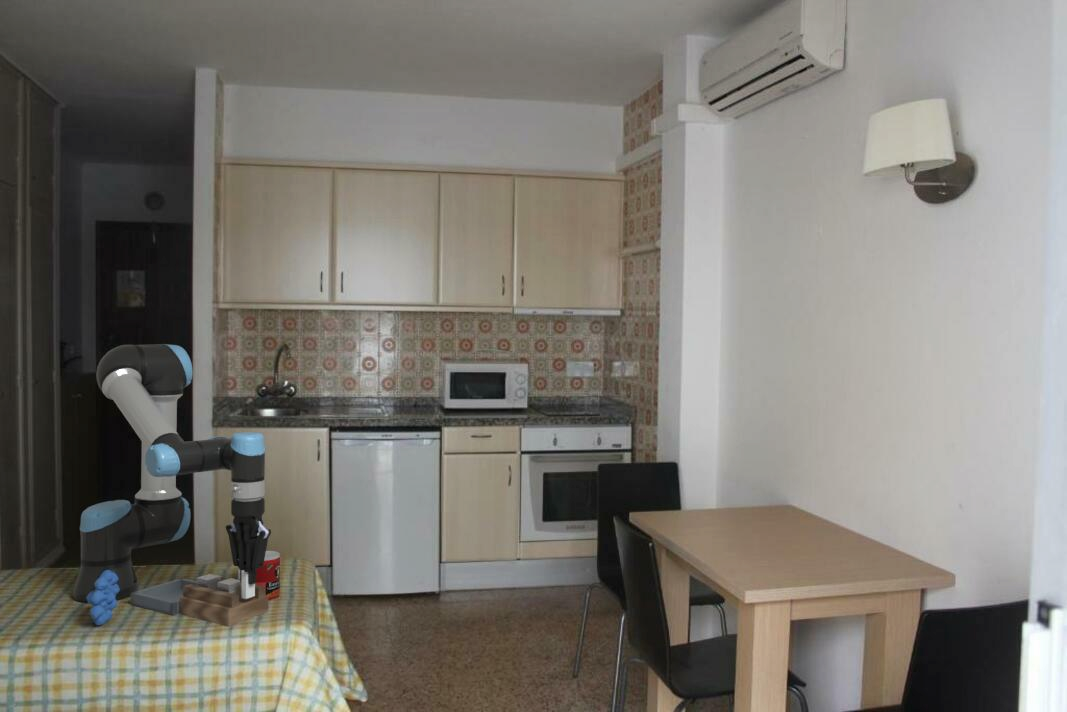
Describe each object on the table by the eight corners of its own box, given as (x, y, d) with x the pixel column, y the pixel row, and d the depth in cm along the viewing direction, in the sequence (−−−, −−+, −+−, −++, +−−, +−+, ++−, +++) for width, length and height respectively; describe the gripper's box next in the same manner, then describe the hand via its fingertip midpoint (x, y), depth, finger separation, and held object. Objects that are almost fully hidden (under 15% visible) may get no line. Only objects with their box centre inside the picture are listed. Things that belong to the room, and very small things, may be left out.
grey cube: (217, 598, 203) (217, 582, 203) (230, 594, 207) (230, 578, 207) (229, 601, 201) (228, 584, 201) (242, 596, 205) (242, 580, 205)
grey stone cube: (196, 594, 207) (196, 577, 207) (209, 589, 211) (209, 573, 210) (207, 596, 205) (207, 580, 205) (221, 592, 209) (220, 576, 208)
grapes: (97, 614, 204) (96, 564, 204) (126, 613, 204) (125, 564, 204) (74, 631, 192) (73, 578, 192) (105, 630, 193) (104, 578, 192)
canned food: (271, 602, 214) (270, 559, 213) (242, 600, 215) (242, 557, 215) (285, 593, 221) (285, 551, 221) (257, 591, 223) (257, 549, 222)
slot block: (179, 614, 204) (179, 587, 204) (220, 600, 215) (220, 575, 214) (228, 626, 196) (228, 598, 196) (268, 611, 206) (268, 585, 206)
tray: (130, 604, 211) (130, 592, 211) (182, 589, 224) (182, 577, 224) (173, 615, 203) (173, 603, 203) (223, 598, 216) (223, 587, 216)
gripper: (216, 498, 200) (216, 596, 201) (255, 503, 194) (255, 605, 195) (241, 492, 207) (241, 588, 207) (279, 498, 200) (279, 597, 201)
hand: (248, 596), depth 201 cm, fingers closed
